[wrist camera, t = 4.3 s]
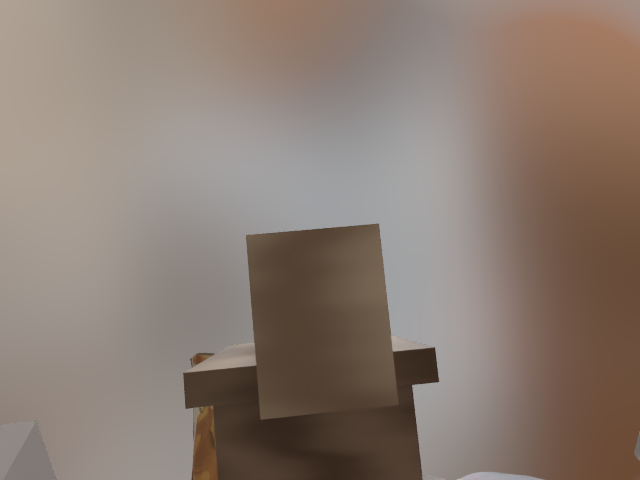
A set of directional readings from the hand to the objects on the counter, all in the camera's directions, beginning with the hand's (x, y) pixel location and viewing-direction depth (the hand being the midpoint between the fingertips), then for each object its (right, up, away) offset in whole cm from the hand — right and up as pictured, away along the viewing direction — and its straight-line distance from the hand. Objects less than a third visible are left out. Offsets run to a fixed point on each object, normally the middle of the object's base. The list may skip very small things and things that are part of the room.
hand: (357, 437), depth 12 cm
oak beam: (-1, -1, +15) cm, 15 cm away
